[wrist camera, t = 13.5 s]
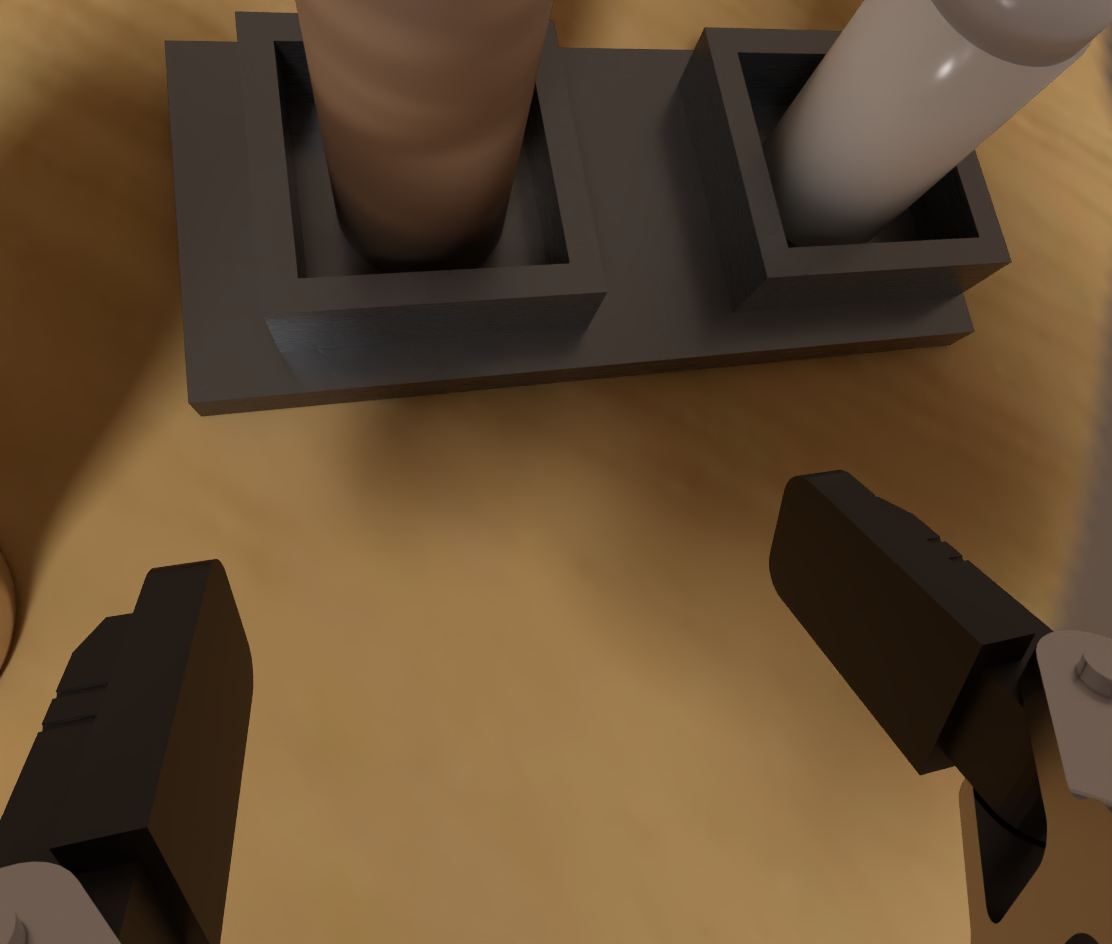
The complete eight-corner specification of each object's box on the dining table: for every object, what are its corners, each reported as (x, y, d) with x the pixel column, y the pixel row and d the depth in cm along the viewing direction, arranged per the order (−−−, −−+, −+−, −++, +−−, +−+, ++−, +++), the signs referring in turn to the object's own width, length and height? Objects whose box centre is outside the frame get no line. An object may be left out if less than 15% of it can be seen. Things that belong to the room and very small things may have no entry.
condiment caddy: (201, 416, 17) (157, 371, 14) (177, 70, 19) (134, -31, 16) (950, 344, 22) (1030, 300, 19) (869, 77, 24) (930, 0, 21)
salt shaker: (771, 258, 20) (987, 27, 12) (737, 128, 21) (921, -164, 13) (899, 251, 21) (1173, 32, 13) (862, 126, 22) (1099, -145, 14)
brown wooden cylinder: (341, 288, 17) (248, -124, 8) (326, 131, 18) (227, -417, 9) (516, 281, 18) (628, -91, 9) (495, 132, 19) (575, -358, 10)
